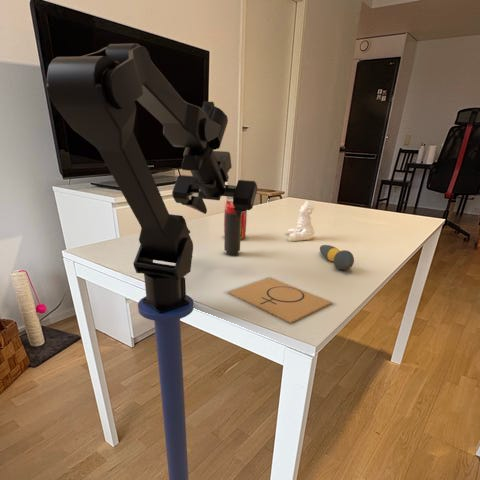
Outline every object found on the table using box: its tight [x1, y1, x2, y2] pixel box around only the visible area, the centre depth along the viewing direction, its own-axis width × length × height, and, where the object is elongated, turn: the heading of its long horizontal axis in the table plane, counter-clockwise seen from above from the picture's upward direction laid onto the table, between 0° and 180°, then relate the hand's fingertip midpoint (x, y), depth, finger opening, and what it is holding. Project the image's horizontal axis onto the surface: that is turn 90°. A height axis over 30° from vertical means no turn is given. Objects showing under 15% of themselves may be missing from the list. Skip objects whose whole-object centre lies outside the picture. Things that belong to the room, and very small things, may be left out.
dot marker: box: [223, 205, 241, 257], centre depth 93 cm, size 4×4×13 cm
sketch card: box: [228, 277, 332, 324], centre depth 71 cm, size 13×17×1 cm
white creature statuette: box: [287, 200, 316, 242], centre depth 111 cm, size 10×9×12 cm
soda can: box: [223, 197, 248, 240], centre depth 108 cm, size 7×7×12 cm
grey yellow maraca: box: [319, 244, 355, 271], centre depth 92 cm, size 20×5×5 cm, turn 14°
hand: (223, 214), depth 84 cm, fingers open, 9 cm apart
